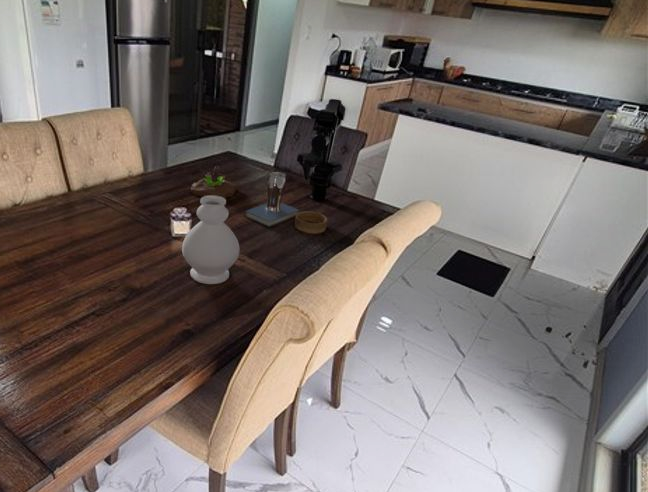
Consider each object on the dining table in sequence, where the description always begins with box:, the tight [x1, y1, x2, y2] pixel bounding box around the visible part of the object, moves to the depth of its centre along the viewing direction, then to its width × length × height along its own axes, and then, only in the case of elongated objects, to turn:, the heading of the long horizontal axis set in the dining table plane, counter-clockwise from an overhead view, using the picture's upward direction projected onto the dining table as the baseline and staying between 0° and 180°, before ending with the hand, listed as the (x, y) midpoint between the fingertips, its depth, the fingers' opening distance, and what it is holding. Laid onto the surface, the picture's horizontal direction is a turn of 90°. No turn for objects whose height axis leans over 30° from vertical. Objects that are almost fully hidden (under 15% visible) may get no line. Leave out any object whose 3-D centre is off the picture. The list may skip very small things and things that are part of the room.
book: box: [244, 202, 300, 228], centre depth 189 cm, size 19×13×2 cm
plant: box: [190, 164, 238, 200], centre depth 206 cm, size 20×20×11 cm
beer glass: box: [266, 171, 287, 213], centre depth 184 cm, size 7×7×15 cm
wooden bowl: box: [293, 210, 329, 235], centre depth 182 cm, size 12×12×4 cm
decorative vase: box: [181, 195, 240, 285], centre depth 140 cm, size 18×18×25 cm
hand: (315, 183), depth 189 cm, fingers open, 9 cm apart
